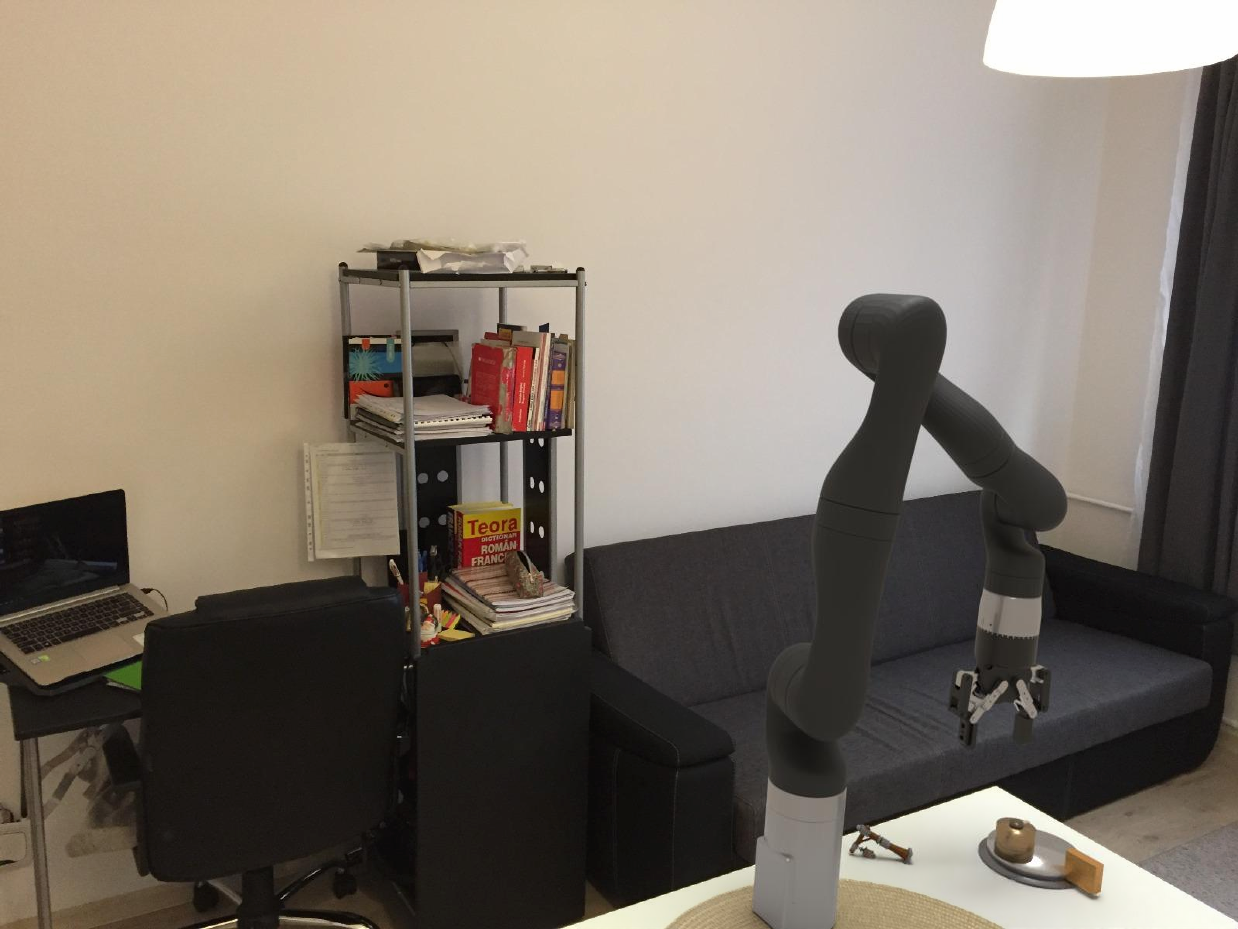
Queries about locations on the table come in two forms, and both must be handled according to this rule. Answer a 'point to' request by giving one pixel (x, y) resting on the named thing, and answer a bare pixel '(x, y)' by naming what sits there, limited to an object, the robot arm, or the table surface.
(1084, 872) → the silver disc with handle
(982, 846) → the base plate
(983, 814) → the table surface
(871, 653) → the robot arm
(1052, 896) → the table surface
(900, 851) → the toy blunderbuss
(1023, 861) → the cover
